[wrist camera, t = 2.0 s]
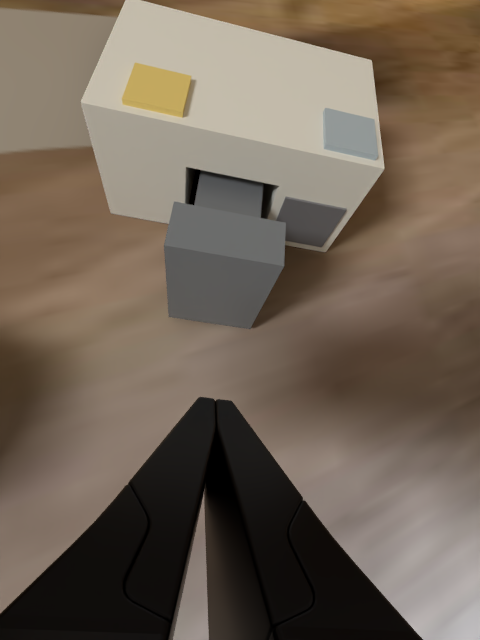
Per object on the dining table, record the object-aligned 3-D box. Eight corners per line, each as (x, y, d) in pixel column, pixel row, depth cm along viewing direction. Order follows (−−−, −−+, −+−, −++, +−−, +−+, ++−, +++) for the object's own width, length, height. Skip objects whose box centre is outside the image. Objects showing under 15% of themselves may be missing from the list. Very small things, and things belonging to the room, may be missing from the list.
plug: (249, 328, 21) (284, 266, 14) (168, 316, 21) (164, 245, 14) (259, 215, 25) (290, 122, 18) (191, 201, 25) (196, 100, 18)
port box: (325, 254, 25) (388, 166, 18) (110, 214, 23) (78, 98, 16) (323, 159, 29) (374, 55, 22) (140, 119, 28) (126, -10, 20)
